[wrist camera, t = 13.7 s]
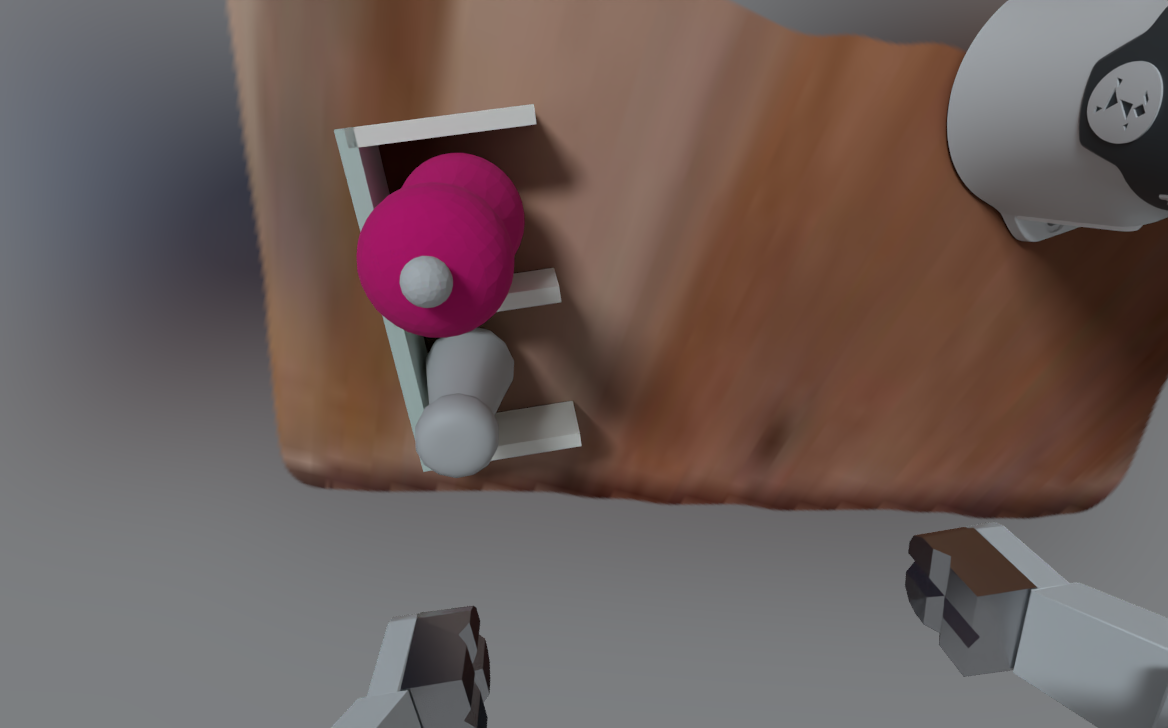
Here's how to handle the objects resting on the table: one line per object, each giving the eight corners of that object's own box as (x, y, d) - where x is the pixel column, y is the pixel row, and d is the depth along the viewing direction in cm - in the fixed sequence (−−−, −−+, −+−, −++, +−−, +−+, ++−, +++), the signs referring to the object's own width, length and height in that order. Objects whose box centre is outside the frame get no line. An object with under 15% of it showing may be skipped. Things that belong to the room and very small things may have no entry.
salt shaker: (523, 328, 41) (527, 411, 29) (503, 401, 43) (499, 506, 31) (439, 307, 40) (408, 384, 28) (422, 382, 42) (385, 485, 30)
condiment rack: (530, 107, 36) (533, 104, 32) (574, 412, 44) (581, 446, 40) (357, 129, 36) (333, 129, 31) (432, 435, 44) (423, 471, 39)
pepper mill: (384, 213, 38) (260, 296, 19) (458, 123, 36) (401, 120, 18) (474, 288, 40) (441, 426, 21) (546, 206, 38) (577, 280, 20)
